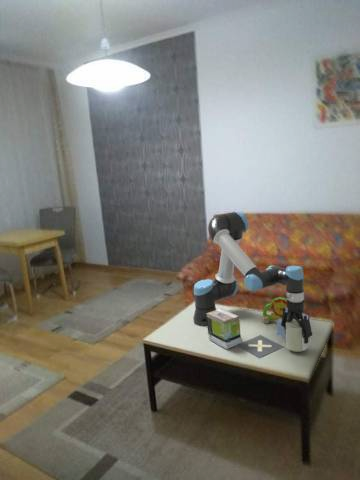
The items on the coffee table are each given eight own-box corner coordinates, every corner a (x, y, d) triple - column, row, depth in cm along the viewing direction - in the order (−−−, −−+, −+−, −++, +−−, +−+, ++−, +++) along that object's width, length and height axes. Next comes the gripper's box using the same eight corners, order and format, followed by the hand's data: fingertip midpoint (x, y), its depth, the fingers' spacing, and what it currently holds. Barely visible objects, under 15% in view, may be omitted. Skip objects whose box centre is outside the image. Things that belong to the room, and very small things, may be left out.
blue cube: (277, 334, 186) (276, 320, 185) (288, 329, 190) (287, 315, 189) (289, 340, 180) (288, 325, 178) (300, 335, 184) (299, 320, 182)
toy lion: (262, 323, 200) (261, 297, 197) (264, 319, 205) (263, 294, 202) (291, 327, 193) (291, 300, 190) (293, 322, 198) (292, 296, 195)
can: (308, 351, 164) (307, 327, 161) (287, 351, 166) (286, 327, 163) (305, 342, 173) (304, 318, 170) (285, 341, 174) (284, 318, 172)
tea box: (242, 343, 180) (240, 315, 177) (226, 350, 175) (224, 321, 172) (223, 333, 193) (220, 307, 190) (207, 339, 188) (205, 312, 185)
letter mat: (236, 345, 179) (236, 344, 179) (260, 335, 187) (260, 334, 187) (259, 358, 166) (259, 357, 166) (283, 346, 174) (283, 346, 173)
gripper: (271, 295, 172) (273, 339, 176) (309, 308, 153) (310, 357, 158) (283, 291, 175) (284, 334, 180) (320, 304, 157) (321, 351, 162)
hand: (296, 345), depth 169 cm, fingers closed on can, 9 cm apart
